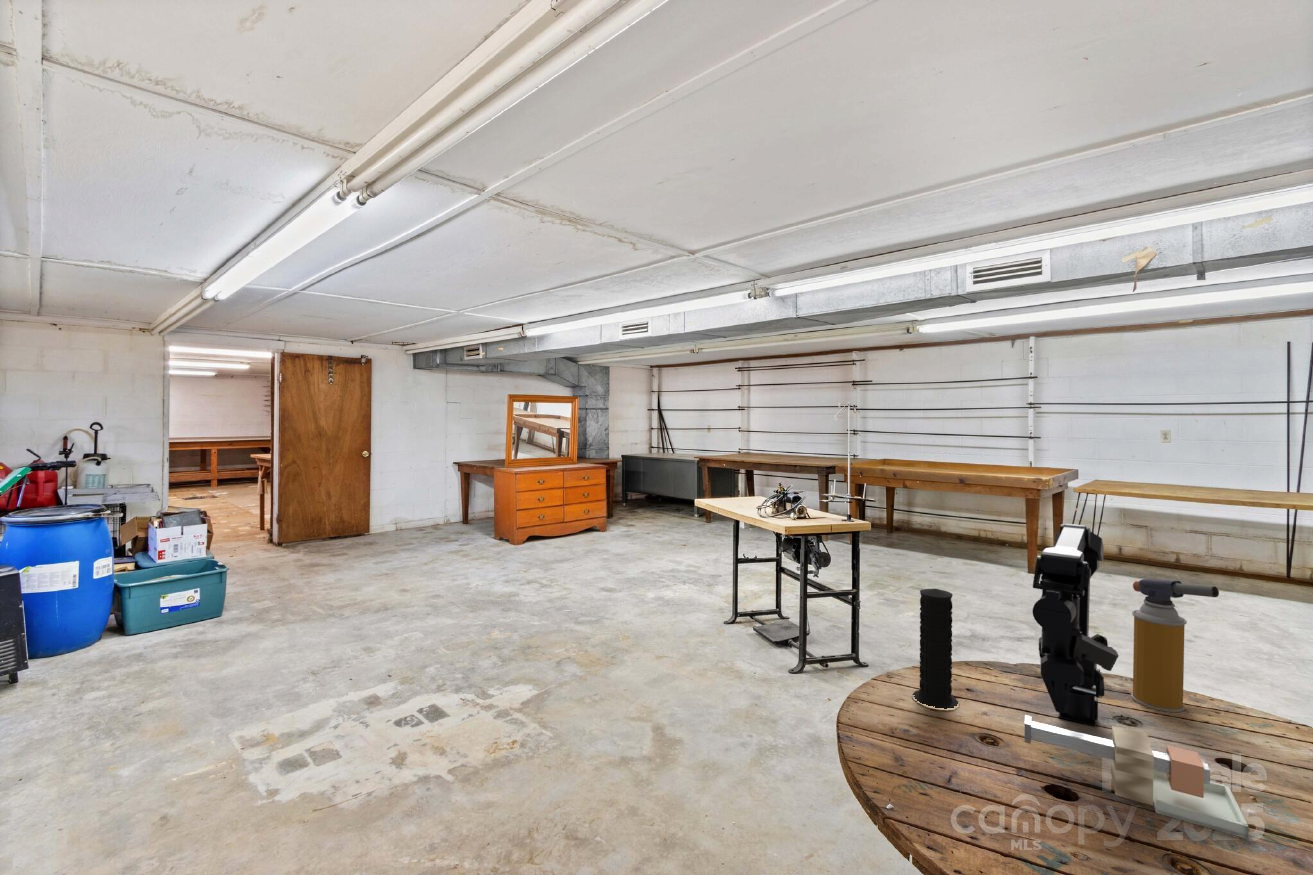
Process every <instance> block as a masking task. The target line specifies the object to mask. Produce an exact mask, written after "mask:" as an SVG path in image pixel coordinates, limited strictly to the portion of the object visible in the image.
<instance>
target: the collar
mask: <svg viewBox="0 0 1313 875" xmlns="http://www.w3.org/2000/svg"><path fill="white" fill-rule="evenodd" d="M1166 754H1168V756H1169V758H1170V761H1171V775H1170V774H1166V775H1167V778H1168V781H1169V784H1170V787H1171V790H1174V791H1178V792H1182V793H1185V794H1189V795H1193V796H1197V797H1201V798H1204V766H1203V764H1202V762H1203V761H1202V759H1201V758H1200V755H1199V752H1198V751H1194V750H1189V749H1185V748H1180V747H1178V746H1177V747H1176V746H1172V745H1169V744H1168V745H1166Z"/></svg>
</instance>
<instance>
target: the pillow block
mask: <svg viewBox="0 0 1313 875" xmlns="http://www.w3.org/2000/svg"><path fill="white" fill-rule="evenodd" d="M1111 740H1112V741H1114V745H1115V760H1111V759H1110V761H1111V762H1110V763H1111V764H1110V765H1111V766H1110V774H1111V779H1112V784H1113V790H1114V794H1115V796H1117V797H1121V798H1125V799H1128V800H1132V801H1136V802H1139V803H1142V804H1146V805H1150V806H1153V807H1154V805H1153V779H1154V754H1153V751H1152V750H1153V748H1152V745H1151V742H1150V738H1149V736H1148V734H1147V733H1144V732H1141V731H1136V730H1133V729H1132V730H1131V729H1126V728H1123V727H1120V726H1119V727H1118V726H1114V725H1111Z"/></svg>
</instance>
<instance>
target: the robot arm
mask: <svg viewBox="0 0 1313 875" xmlns="http://www.w3.org/2000/svg"><path fill="white" fill-rule="evenodd" d="M1059 528H1060V529H1059V530H1058V531H1057V532H1055V533H1054V542H1053V543H1054V544H1053V546H1052V547H1045V548H1044V549H1043V550H1042V551H1041V554H1040V555H1037V556H1036V562H1035V568H1034V573H1033V574H1034V575H1033V581H1032V582H1033V583H1032V589H1038V590H1041V592H1042V593H1041V596H1040V598H1039V599H1038V600H1037V601H1036V602H1035V603H1034V605H1033V608H1032V616H1033V618H1034V621H1036V623H1037V624H1038V625H1039V626H1040V627H1041V636H1040V637H1038V651H1039V652H1038V654H1039V658H1040V659H1039V660H1040V661H1039V662H1040V663H1039V664H1040V665H1039V667H1040V669H1039V670H1040V671H1039V672H1040V676H1041V678H1042V681H1043V683H1044V686H1045V688H1046V690H1047V692H1048V695H1049V697H1050V700H1051V703H1052V705H1053V708H1054V710H1055V711H1056V713H1058V718H1059V719H1063V720H1067V721H1072V722H1075V723H1081V724H1085V725H1088V726H1092V727H1093V726H1094V727H1096V721H1098V720H1099V702H1098V700H1099V699H1100V697H1105V679H1104V676H1103V675H1102V672H1101V669H1099V668H1098V667H1097V666H1100V667H1101V668H1102V669H1103V670H1105V671H1107V672H1108V671H1109V672H1111V671H1112V670H1113V668H1114V666H1115V664H1116V663H1117V660H1118V658H1119V654H1118V652H1117V650H1116V649H1114V648H1113V647H1112V646H1109V643H1108V639H1107V637H1106V636H1103V635H1101V634H1099V633H1097V634H1094V635H1093V636H1090V635H1089V634H1090V633H1089V630H1090V600H1091V599H1090V596H1091V593H1090V592H1091V578H1092V576H1093V575H1094V574H1095V573H1096V572H1097V571H1098V570H1099V568H1100V563H1101V562H1103V561H1104V555H1105V554H1104V552H1105V551H1104V550H1105V548H1104V542H1103V538H1102V537H1101V536H1099V535H1097V534H1096V533H1094V532H1093V531H1091V527H1090V526H1087V525H1084V524H1083V525H1082V524H1074V523H1072V524H1071V523H1064V524H1060V527H1059Z"/></svg>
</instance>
